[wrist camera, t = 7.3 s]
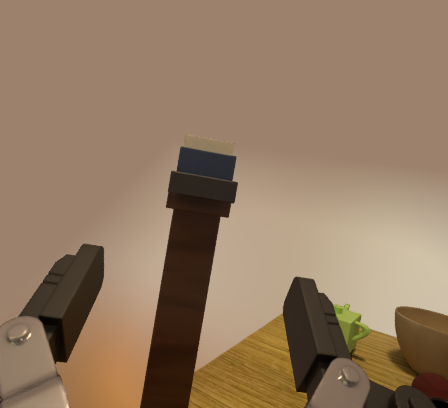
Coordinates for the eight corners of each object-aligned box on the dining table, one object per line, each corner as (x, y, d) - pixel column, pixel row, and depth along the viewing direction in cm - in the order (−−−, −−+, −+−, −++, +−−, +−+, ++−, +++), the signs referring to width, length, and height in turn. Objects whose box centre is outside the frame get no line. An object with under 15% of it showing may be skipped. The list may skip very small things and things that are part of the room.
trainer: (234, 203, 22) (248, 124, 22) (167, 192, 22) (181, 111, 22) (217, 199, 40) (225, 155, 40) (181, 193, 40) (188, 149, 40)
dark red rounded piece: (451, 405, 61) (456, 374, 61) (465, 434, 53) (472, 398, 53) (406, 390, 64) (411, 360, 64) (413, 415, 56) (419, 380, 56)
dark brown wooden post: (177, 519, 31) (231, 202, 31) (114, 514, 31) (168, 191, 30) (181, 446, 40) (223, 200, 40) (133, 441, 40) (175, 192, 39)
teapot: (342, 338, 86) (349, 299, 86) (376, 365, 73) (385, 319, 73) (289, 334, 82) (297, 293, 82) (316, 362, 69) (325, 314, 69)
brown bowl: (379, 368, 72) (389, 314, 72) (394, 346, 86) (402, 302, 86) (482, 410, 61) (493, 347, 61) (479, 378, 75) (488, 327, 75)
